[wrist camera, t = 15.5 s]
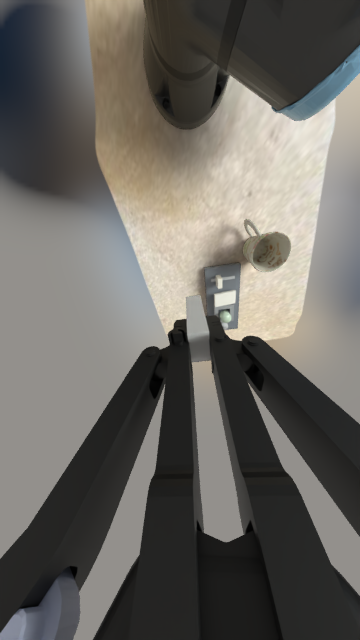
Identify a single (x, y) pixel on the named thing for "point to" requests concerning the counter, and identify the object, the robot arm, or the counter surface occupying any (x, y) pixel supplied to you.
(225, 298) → the plate
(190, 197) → the counter surface
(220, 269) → the panel
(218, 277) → the slider
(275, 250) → the mug
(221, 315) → the button
